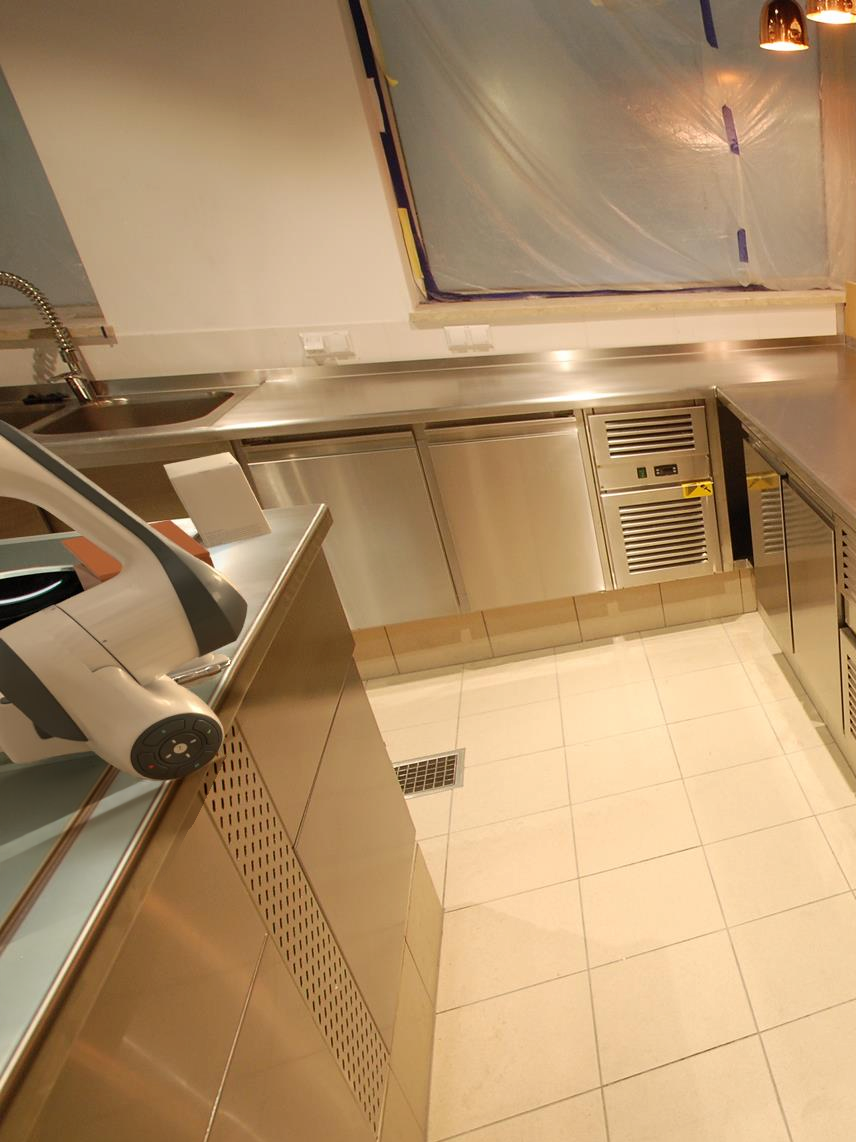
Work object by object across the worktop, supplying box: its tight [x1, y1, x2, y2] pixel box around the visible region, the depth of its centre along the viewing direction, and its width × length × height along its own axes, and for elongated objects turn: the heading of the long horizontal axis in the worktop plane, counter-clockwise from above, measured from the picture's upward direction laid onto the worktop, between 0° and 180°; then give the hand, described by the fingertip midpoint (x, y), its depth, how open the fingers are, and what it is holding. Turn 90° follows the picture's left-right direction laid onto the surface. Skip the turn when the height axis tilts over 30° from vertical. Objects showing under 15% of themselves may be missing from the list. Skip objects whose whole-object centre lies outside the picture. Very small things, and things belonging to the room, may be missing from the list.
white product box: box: [162, 451, 273, 549], centre depth 137 cm, size 9×9×15 cm
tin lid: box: [60, 519, 211, 580], centre depth 112 cm, size 11×11×1 cm
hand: (71, 666), depth 93 cm, fingers closed on candle, 5 cm apart
